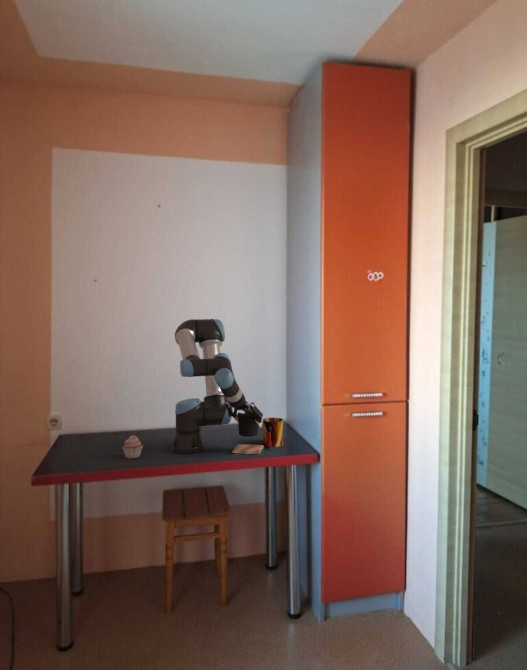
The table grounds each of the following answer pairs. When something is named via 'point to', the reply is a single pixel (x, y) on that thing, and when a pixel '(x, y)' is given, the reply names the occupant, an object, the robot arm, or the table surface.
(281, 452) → the table surface
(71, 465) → the table surface
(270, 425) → the mug
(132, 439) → the cupcake
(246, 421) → the pen holder
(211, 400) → the robot arm
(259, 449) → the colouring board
